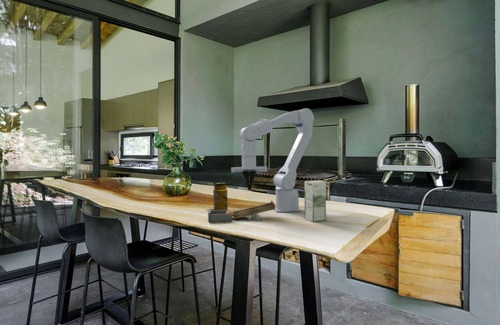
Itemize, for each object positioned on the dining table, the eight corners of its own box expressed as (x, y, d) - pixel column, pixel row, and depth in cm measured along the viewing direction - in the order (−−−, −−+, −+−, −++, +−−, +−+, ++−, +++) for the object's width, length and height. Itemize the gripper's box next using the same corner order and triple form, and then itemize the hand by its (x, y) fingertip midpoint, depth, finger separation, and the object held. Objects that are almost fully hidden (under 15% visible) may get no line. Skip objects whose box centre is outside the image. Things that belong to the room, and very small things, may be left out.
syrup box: (317, 217, 120) (317, 179, 120) (326, 220, 115) (326, 181, 114) (304, 219, 118) (303, 180, 118) (312, 222, 113) (312, 182, 112)
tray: (231, 216, 125) (231, 207, 125) (231, 221, 117) (231, 212, 117) (209, 217, 124) (209, 208, 124) (208, 222, 116) (208, 213, 116)
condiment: (231, 210, 137) (230, 183, 137) (214, 213, 133) (213, 184, 132) (223, 208, 143) (222, 181, 143) (206, 210, 139) (205, 183, 138)
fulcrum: (259, 215, 126) (259, 208, 126) (261, 220, 118) (261, 212, 118) (247, 215, 126) (246, 208, 126) (248, 220, 118) (248, 213, 118)
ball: (226, 217, 123) (234, 216, 123) (226, 219, 120) (234, 218, 120) (225, 210, 123) (232, 208, 123) (225, 212, 120) (232, 210, 120)
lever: (270, 203, 132) (269, 197, 132) (275, 208, 120) (273, 202, 120) (233, 212, 131) (232, 207, 131) (234, 219, 119) (232, 213, 119)
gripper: (265, 155, 133) (265, 187, 134) (230, 156, 132) (231, 188, 133) (267, 156, 126) (268, 190, 127) (231, 157, 125) (231, 191, 126)
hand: (249, 189), depth 129 cm, fingers closed
